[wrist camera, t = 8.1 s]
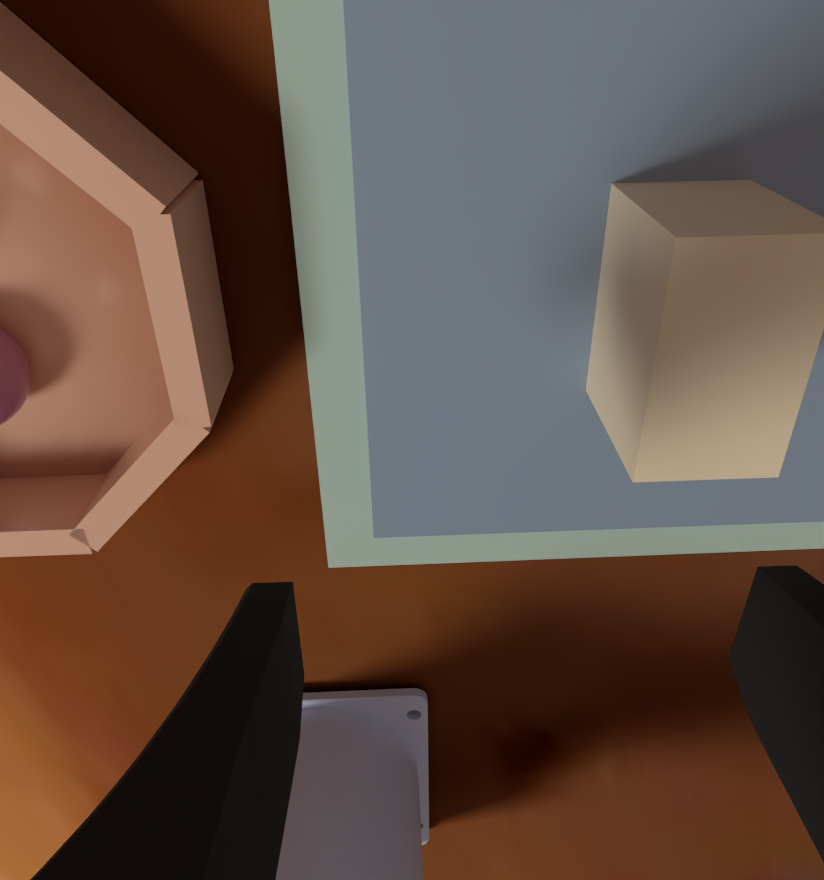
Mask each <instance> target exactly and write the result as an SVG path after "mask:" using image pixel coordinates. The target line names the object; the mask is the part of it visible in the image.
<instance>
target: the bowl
mask: <svg viewBox="0 0 824 880" xmlns="http://www.w3.org/2000/svg"><path fill="white" fill-rule="evenodd" d="M198 174H199V173H198V172H197V171H196V170H195V169H194V168H192V167H191V166H190V165H189V164H188V163H187V162H185V161H184V160H183V159H182V158H181V157H180V156H178V155H177V154H176V153H175V152H174V151H173V150H172V149H170V148H169V147H168V146H167V145H166V144H165V143H163V142H162V141H161V140H160V139H159V138H158V137H156V136H155V135H154V134H153V133H152V132H151V131H149V130H148V129H147V128H146V127H145V126H144V125H142V124H141V123H140V122H139V121H138V120H137V119H136V118H134V117H133V116H132V115H131V114H130V113H129V112H127V111H126V110H125V109H124V108H123V107H122V106H120V105H119V104H118V103H117V102H116V101H115V100H113V99H112V98H111V97H110V96H109V95H108V94H107V93H105V92H104V91H103V90H102V89H101V88H100V87H98V86H97V85H96V84H95V83H94V82H93V81H91V80H90V79H89V78H88V77H87V76H86V75H84V74H83V73H82V72H81V71H80V70H79V69H77V68H76V67H75V66H74V65H73V64H72V63H71V62H69V61H68V60H67V59H66V58H65V57H64V56H62V55H61V54H60V53H59V52H58V51H57V50H55V49H54V48H53V47H52V46H51V45H50V44H48V43H47V42H46V41H45V40H44V39H43V38H41V37H40V36H39V35H38V34H37V33H36V32H35V31H33V30H32V29H31V28H30V27H29V26H28V25H26V24H25V23H24V22H23V21H22V20H21V19H19V18H18V17H17V16H16V15H15V14H14V13H12V12H11V11H10V10H9V9H8V8H7V7H6V6H4V5H3V4H2V3H1V2H0V557H18V556H44V555H70V554H92V553H93V551H94V550H95V551H98V550H99V549H100V548H101V547H102V546H103V545H104V544H105V543H106V542H107V541H108V540H109V539H110V538H111V537H112V535H113V534H114V533H115V532H116V531H117V530H118V529H119V528H120V527H121V526H122V525H123V524H124V523H125V522H126V521H127V520H128V519H129V517H130V516H131V515H132V514H133V513H134V512H135V511H136V510H137V509H138V508H139V507H140V506H141V505H142V504H143V503H144V502H145V501H146V499H147V498H148V497H149V496H150V495H151V494H152V493H153V492H154V491H155V490H156V489H157V488H158V487H159V486H160V485H161V484H162V482H163V481H164V480H165V479H166V478H167V477H168V476H169V475H170V474H171V473H172V472H173V471H174V470H175V469H176V468H177V467H178V466H179V464H180V463H181V462H182V461H183V460H184V459H185V458H186V457H187V456H188V455H189V454H190V453H191V452H192V451H193V450H194V449H195V448H196V446H197V445H198V444H199V443H200V442H201V441H202V440H203V439H204V438H205V437H206V436H207V435H208V434H209V433H210V430H211V428H212V425H213V423H214V420H215V417H216V415H217V412H218V410H219V407H220V404H221V402H222V399H223V397H224V394H225V391H226V389H227V386H228V384H229V381H230V378H231V376H232V372H233V369H234V367H233V361H232V355H231V349H230V343H229V337H228V331H227V325H226V318H225V312H224V306H223V300H222V294H221V288H220V282H219V276H218V270H217V264H216V258H215V252H214V246H213V239H212V233H211V227H210V221H209V215H208V209H207V203H206V197H205V191H204V185H203V180H194V179H195V177H196V176H197V175H198Z"/></svg>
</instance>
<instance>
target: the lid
mask: <svg viewBox="0 0 824 880" xmlns="http://www.w3.org/2000/svg"><path fill="white" fill-rule="evenodd" d="M343 8H344V26H345V43H346V61H347V78H348V96H349V113H350V131H351V148H352V166H353V184H354V201H355V219H356V236H357V254H358V271H359V289H360V306H361V324H362V341H363V359H364V377H365V394H366V412H367V429H368V447H369V464H370V482H371V499H372V517H373V534H374V538H388V537H415V536H442V535H470V534H497V533H525V532H552V531H579V530H607V529H634V528H661V527H689V526H716V525H744V524H771V523H798V522H824V0H343Z"/></svg>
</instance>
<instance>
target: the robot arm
mask: <svg viewBox="0 0 824 880" xmlns="http://www.w3.org/2000/svg"><path fill="white" fill-rule="evenodd" d="M729 662H730V664H731V667H732V670H733V673H734V676H735V679H736V682H737V685H738V688H739V691H740V693H741V696H742V699H743V701H744V704H745V706H746V709H747V712H748V714H749V717H750V719H751V722H752V724H753V726H754V728H755V730H756V732H757V734H758V736H759V738H760V740H761V742H762V744H763V746H764V748H765V750H766V752H767V754H768V756H769V758H770V760H771V762H772V764H773V765H774V767H775V769H776V771H777V773H778V775H779V777H780V779H781V781H782V783H783V785H784V787H785V789H786V791H787V793H788V794H789V796H790V798H791V800H792V802H793V804H794V806H795V808H796V810H797V812H798V814H799V816H800V817H801V819H802V821H803V823H804V825H805V827H806V829H807V831H808V833H809V835H810V837H811V839H812V841H813V842H814V844H815V846H816V848H817V850H818V852H819V854H820V856H821V858H822V860H823V862H824V585H823V584H822V583H820V582H819V581H818V580H816V579H815V578H814V577H812V576H811V575H809V574H808V573H806V572H805V571H804V570H802V569H801V568H799V567H798V566H768V567H757V571H756V574H755V577H754V580H753V583H752V586H751V590H750V593H749V596H748V599H747V602H746V605H745V608H744V612H743V615H742V618H741V621H740V624H739V627H738V631H737V634H736V637H735V640H734V643H733V646H732V649H731V653H730V656H729ZM303 684H304V669H303V661H302V653H301V645H300V637H299V629H298V621H297V613H296V605H295V597H294V589H293V582H275V583H252V584H251V585H250V586H249V587H248V588H247V589H246V590H245V592H244V594H243V596H242V598H241V600H240V602H239V604H238V606H237V608H236V609H235V611H234V613H233V615H232V617H231V618H230V620H229V622H228V624H227V626H226V627H225V629H224V631H223V632H222V634H221V636H220V637H219V639H218V641H217V642H216V644H215V646H214V647H213V649H212V651H211V652H210V654H209V656H208V657H207V659H206V660H205V662H204V663H203V665H202V666H201V668H200V669H199V671H198V672H197V674H196V675H195V677H194V679H193V680H192V682H191V683H190V685H189V686H188V688H187V689H186V691H185V692H184V694H183V695H182V697H181V698H180V700H179V701H178V703H177V704H176V705H175V707H174V708H173V710H172V711H171V712H170V714H169V715H168V717H167V718H166V719H165V721H164V722H163V723H162V725H161V726H160V727H159V729H158V730H157V732H156V733H155V734H154V736H153V737H152V738H151V740H150V741H149V742H148V744H147V745H146V747H145V748H144V749H143V751H142V752H141V753H140V755H139V756H138V757H137V758H136V760H135V761H134V762H133V764H132V765H131V766H130V767H129V769H128V770H127V771H126V772H125V774H124V775H123V776H122V777H121V779H120V780H119V781H118V782H117V783H116V785H115V786H114V787H113V788H112V790H111V791H110V792H109V793H108V794H107V795H106V797H105V798H104V799H103V800H102V801H101V803H100V804H99V805H98V806H97V807H96V808H95V810H94V811H93V812H92V813H91V814H90V815H89V817H88V818H87V819H86V820H85V821H84V822H83V823H82V825H81V826H80V827H79V828H78V829H77V830H76V831H75V832H74V833H73V834H72V835H71V837H70V838H69V839H68V840H67V841H66V842H65V843H64V844H63V845H62V846H61V847H60V849H59V850H58V851H57V852H56V853H55V854H54V855H53V856H52V857H51V858H50V860H49V861H48V862H47V863H46V864H45V865H44V866H43V867H42V868H41V869H40V870H39V871H38V872H37V873H36V874H35V875H34V876H33V877H32V879H31V880H423V860H422V845H423V844H425V843H426V842H428V840H429V772H428V700H427V694H426V693H425V692H424V691H423V690H420V689H418V688H403V689H379V690H356V691H333V692H309V693H303Z"/></svg>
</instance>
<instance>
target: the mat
mask: <svg viewBox="0 0 824 880" xmlns="http://www.w3.org/2000/svg"><path fill="white" fill-rule="evenodd" d="M269 6H270V16H271V25H272V35H273V44H274V54H275V63H276V73H277V82H278V92H279V102H280V111H281V121H282V130H283V140H284V149H285V159H286V168H287V178H288V187H289V197H290V206H291V216H292V225H293V235H294V244H295V254H296V263H297V273H298V282H299V292H300V302H301V311H302V321H303V330H304V340H305V349H306V359H307V368H308V378H309V387H310V397H311V406H312V416H313V425H314V435H315V444H316V454H317V463H318V473H319V482H320V492H321V502H322V511H323V521H324V530H325V540H326V549H327V559H328V568H333V567H359V566H384V565H410V564H436V563H461V562H487V561H513V560H538V559H564V558H590V557H615V556H641V555H666V554H692V553H718V552H743V551H769V550H795V549H820V548H824V522H798V523H771V524H744V525H716V526H689V527H661V528H634V529H607V530H579V531H552V532H525V533H497V534H470V535H442V536H415V537H388V538H374V534H373V517H372V499H371V482H370V464H369V447H368V429H367V412H366V394H365V377H364V359H363V341H362V324H361V306H360V289H359V271H358V254H357V236H356V219H355V201H354V184H353V166H352V148H351V131H350V113H349V96H348V78H347V61H346V43H345V26H344V8H343V0H269Z"/></svg>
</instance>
